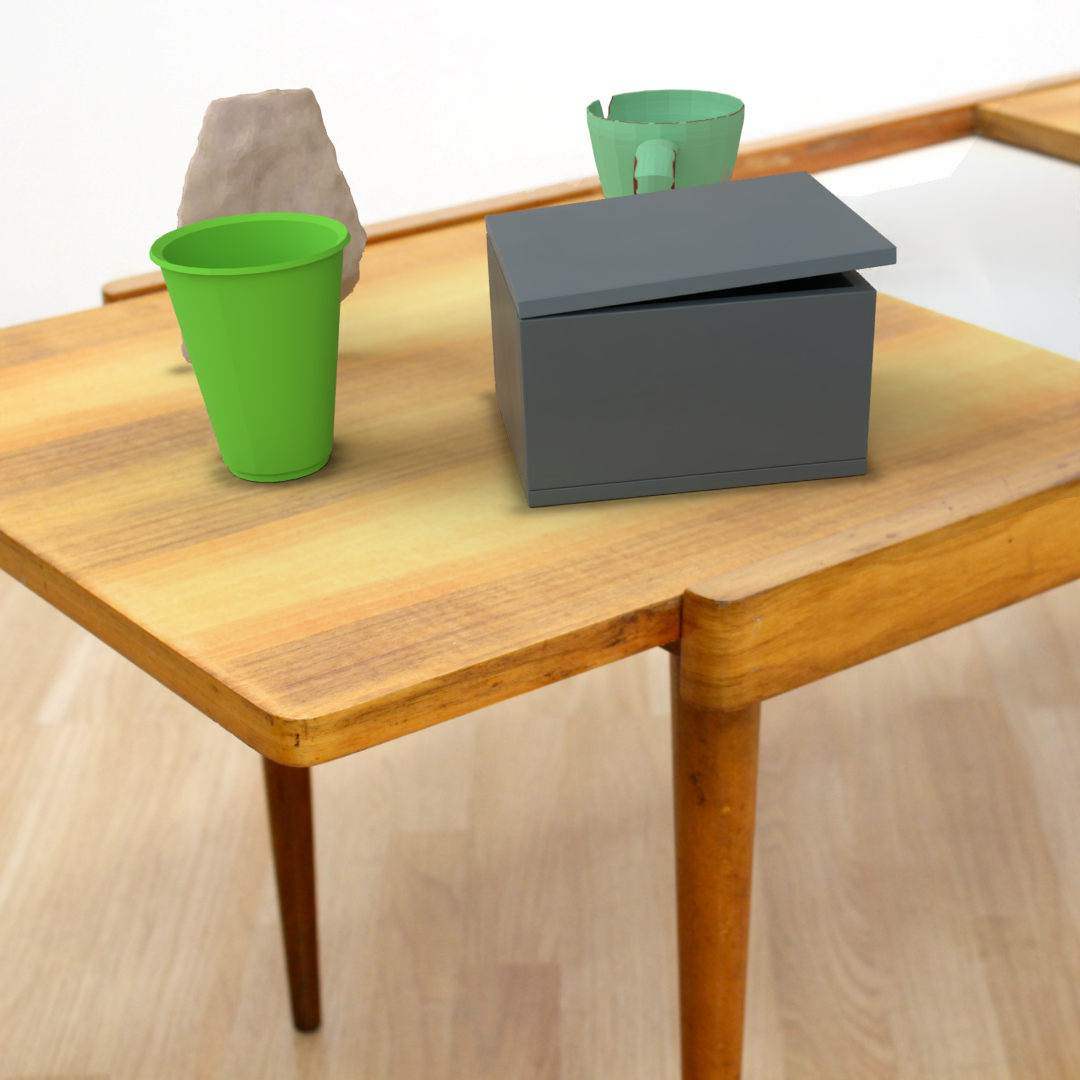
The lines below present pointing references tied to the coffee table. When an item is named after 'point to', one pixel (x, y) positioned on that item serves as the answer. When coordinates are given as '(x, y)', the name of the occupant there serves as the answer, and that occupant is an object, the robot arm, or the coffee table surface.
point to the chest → (686, 388)
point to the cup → (261, 333)
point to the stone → (270, 168)
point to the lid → (680, 243)
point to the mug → (665, 140)
